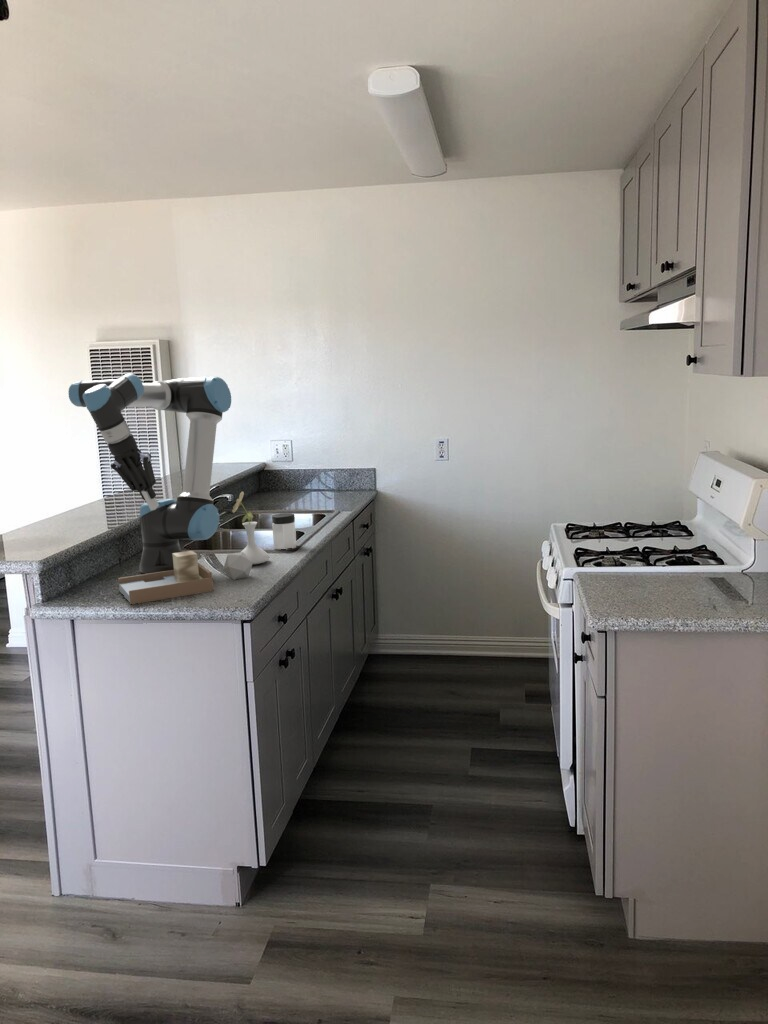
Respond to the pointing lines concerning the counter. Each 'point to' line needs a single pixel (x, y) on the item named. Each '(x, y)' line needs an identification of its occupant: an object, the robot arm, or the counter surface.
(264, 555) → the flower in vase
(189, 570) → the block
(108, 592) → the counter surface
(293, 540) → the jar
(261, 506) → the counter surface
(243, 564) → the die
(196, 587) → the box
